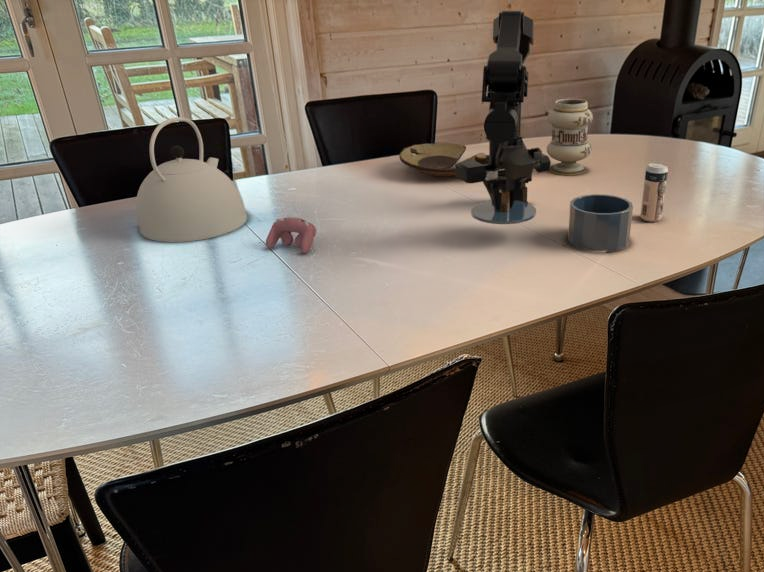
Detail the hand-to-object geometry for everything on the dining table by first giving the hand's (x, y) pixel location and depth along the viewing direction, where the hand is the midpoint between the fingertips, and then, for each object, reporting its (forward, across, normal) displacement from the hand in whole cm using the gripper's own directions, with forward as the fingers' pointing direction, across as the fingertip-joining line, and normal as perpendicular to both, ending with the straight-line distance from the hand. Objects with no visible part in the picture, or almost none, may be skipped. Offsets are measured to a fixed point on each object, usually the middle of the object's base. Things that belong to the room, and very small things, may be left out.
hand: (503, 208), depth 136 cm
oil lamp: (+7, +9, +49) cm, 51 cm away
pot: (+7, +17, -10) cm, 21 cm away
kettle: (+7, -56, +43) cm, 71 cm away
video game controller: (+7, -40, +17) cm, 44 cm away
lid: (+1, 0, 0) cm, 1 cm away
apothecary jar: (+7, +40, +37) cm, 55 cm away
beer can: (+7, +35, -5) cm, 36 cm away
